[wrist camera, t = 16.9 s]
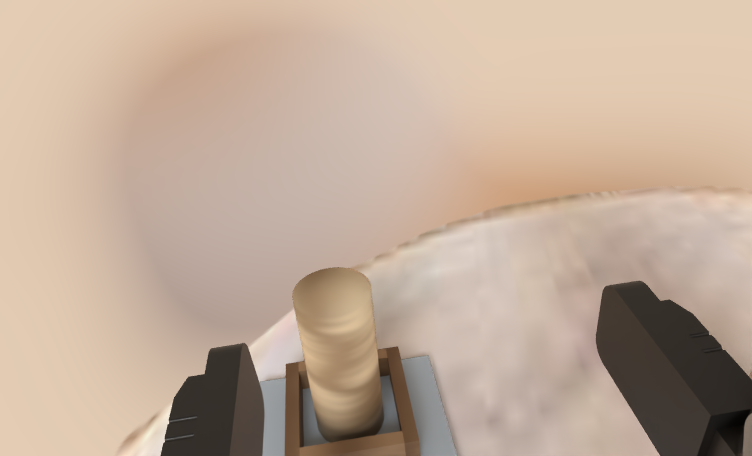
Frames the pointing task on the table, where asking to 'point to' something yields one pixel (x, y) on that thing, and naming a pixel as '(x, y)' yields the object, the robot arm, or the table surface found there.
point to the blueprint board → (423, 398)
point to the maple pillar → (340, 352)
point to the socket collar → (377, 452)
